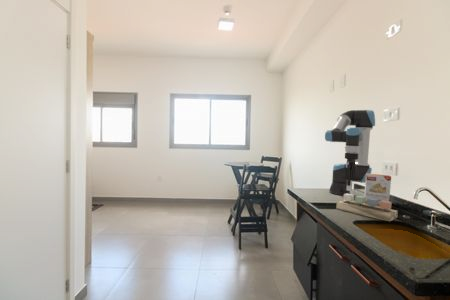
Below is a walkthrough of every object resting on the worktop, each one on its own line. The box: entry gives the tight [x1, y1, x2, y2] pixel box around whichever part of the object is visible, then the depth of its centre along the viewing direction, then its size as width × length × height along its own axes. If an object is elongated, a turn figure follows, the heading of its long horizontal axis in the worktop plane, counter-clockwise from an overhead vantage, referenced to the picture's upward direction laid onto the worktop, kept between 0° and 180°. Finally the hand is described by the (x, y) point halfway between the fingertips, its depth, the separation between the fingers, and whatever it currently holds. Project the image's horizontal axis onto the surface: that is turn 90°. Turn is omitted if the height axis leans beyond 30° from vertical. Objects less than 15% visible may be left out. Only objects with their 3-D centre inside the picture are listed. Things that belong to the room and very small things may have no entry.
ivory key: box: [343, 193, 355, 204], centre depth 172 cm, size 4×4×6 cm
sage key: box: [354, 195, 366, 206], centre depth 167 cm, size 4×4×6 cm
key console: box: [335, 200, 399, 222], centre depth 165 cm, size 12×30×4 cm, turn 42°
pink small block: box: [380, 200, 393, 212], centre depth 156 cm, size 4×4×6 cm
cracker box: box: [363, 173, 392, 207], centre depth 180 cm, size 14×6×21 cm, turn 68°
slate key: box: [367, 198, 378, 209], centre depth 162 cm, size 4×4×6 cm
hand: (349, 190), depth 172 cm, fingers closed
